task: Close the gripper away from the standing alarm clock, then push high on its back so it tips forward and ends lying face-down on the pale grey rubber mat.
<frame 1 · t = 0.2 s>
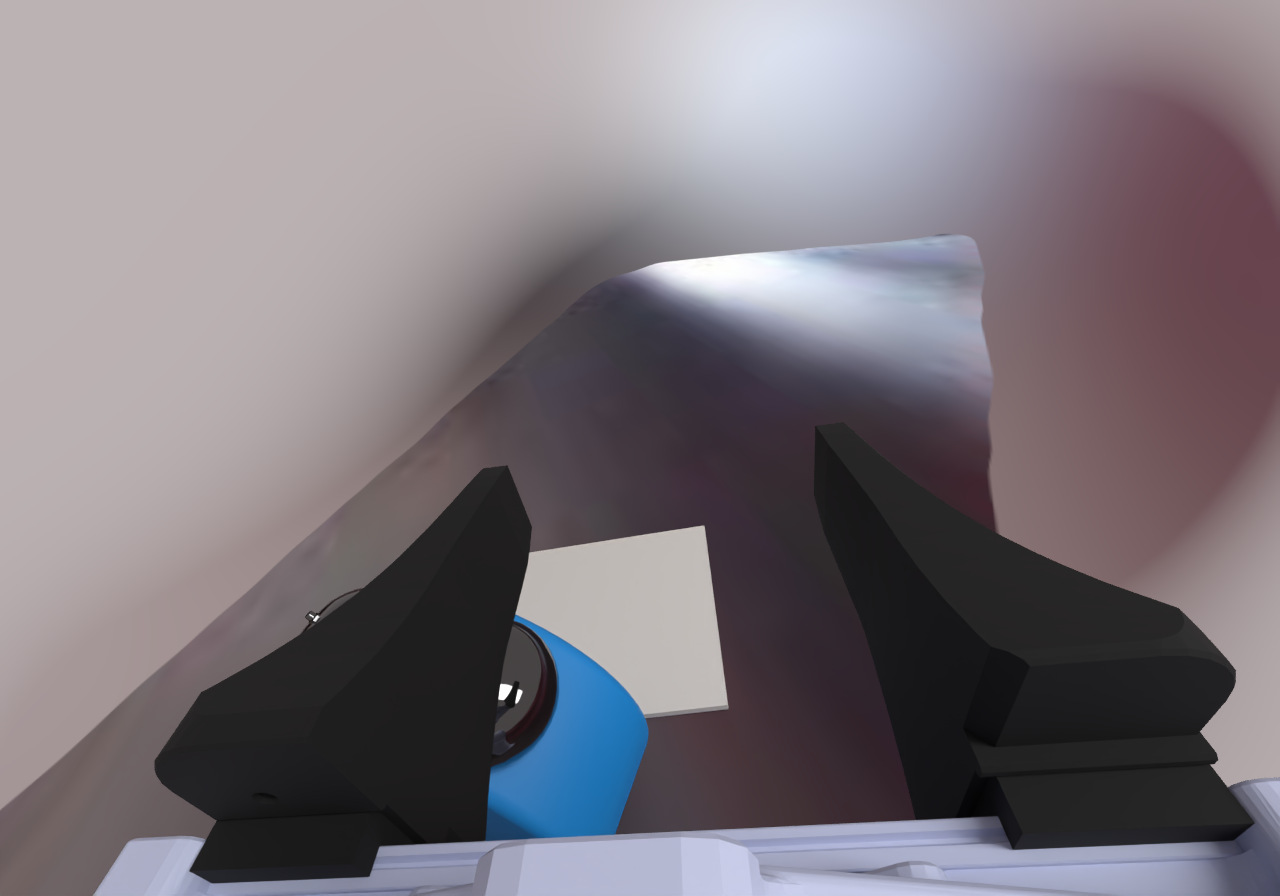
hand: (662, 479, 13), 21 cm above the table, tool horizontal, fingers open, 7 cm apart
alarm clock: (542, 796, 28), on the table, touching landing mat
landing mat: (566, 625, 37), on the table
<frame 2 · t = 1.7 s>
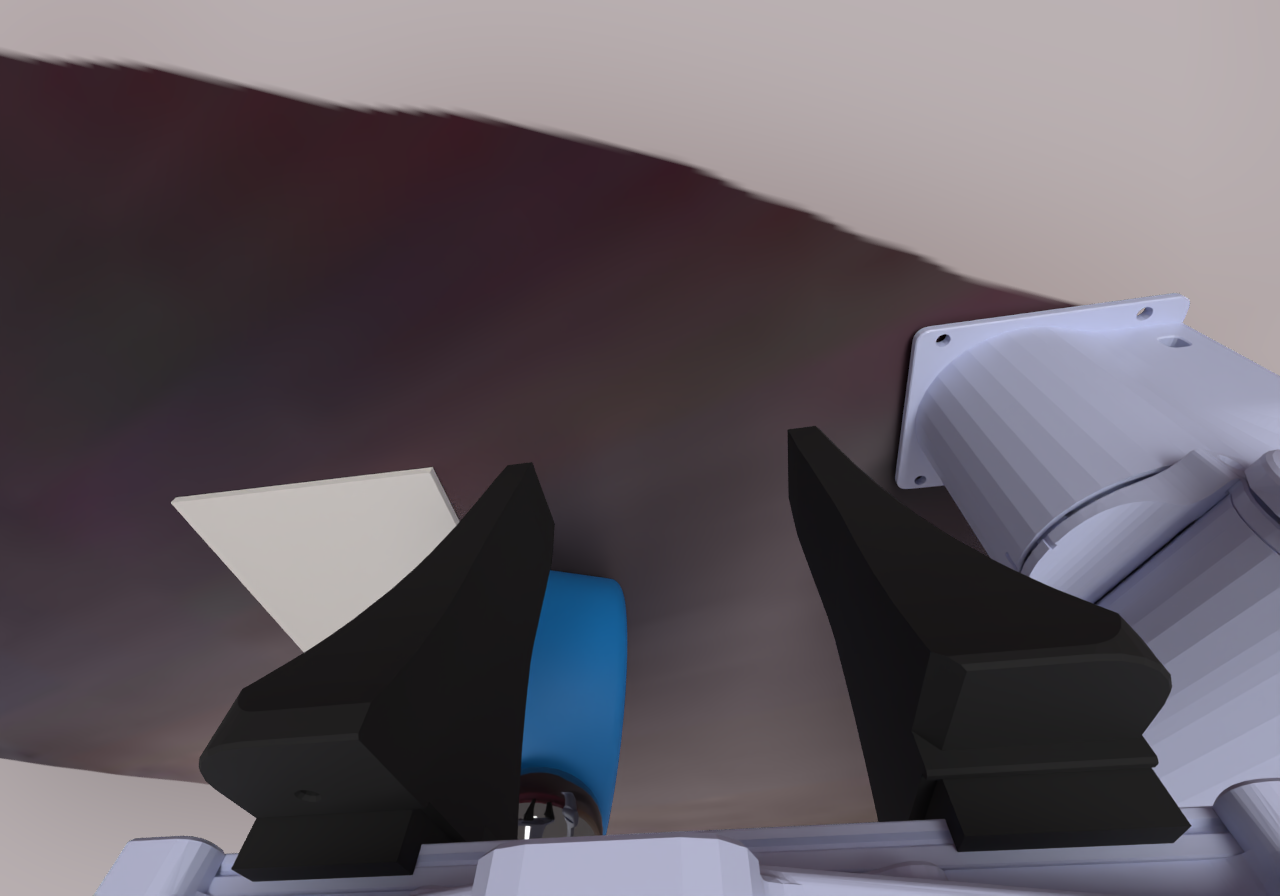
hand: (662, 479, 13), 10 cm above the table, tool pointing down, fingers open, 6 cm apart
alarm clock: (556, 595, 32), on the table, touching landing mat
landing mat: (387, 609, 33), on the table
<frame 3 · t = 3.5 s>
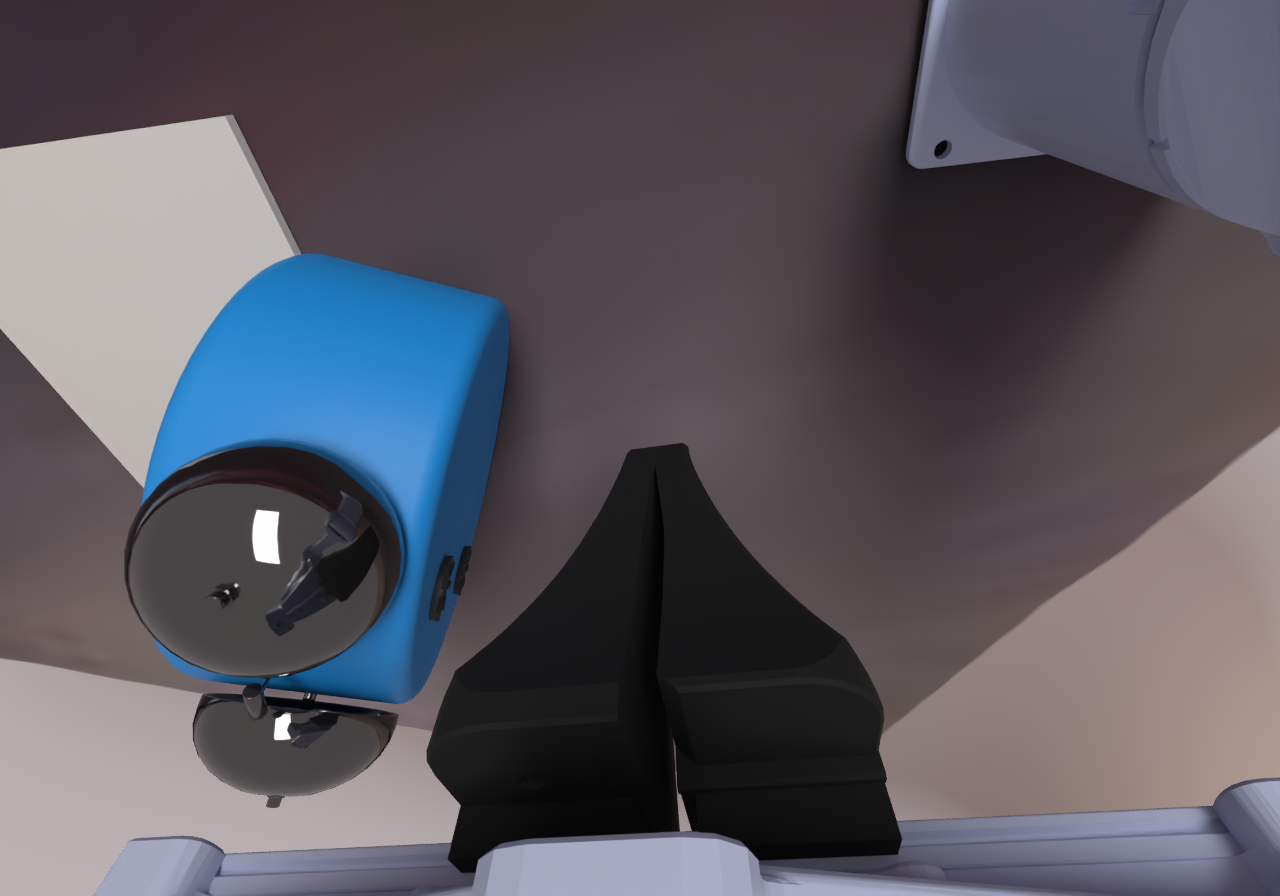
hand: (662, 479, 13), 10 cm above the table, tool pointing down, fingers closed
alarm clock: (439, 372, 24), on the table, touching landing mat
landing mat: (217, 391, 25), on the table
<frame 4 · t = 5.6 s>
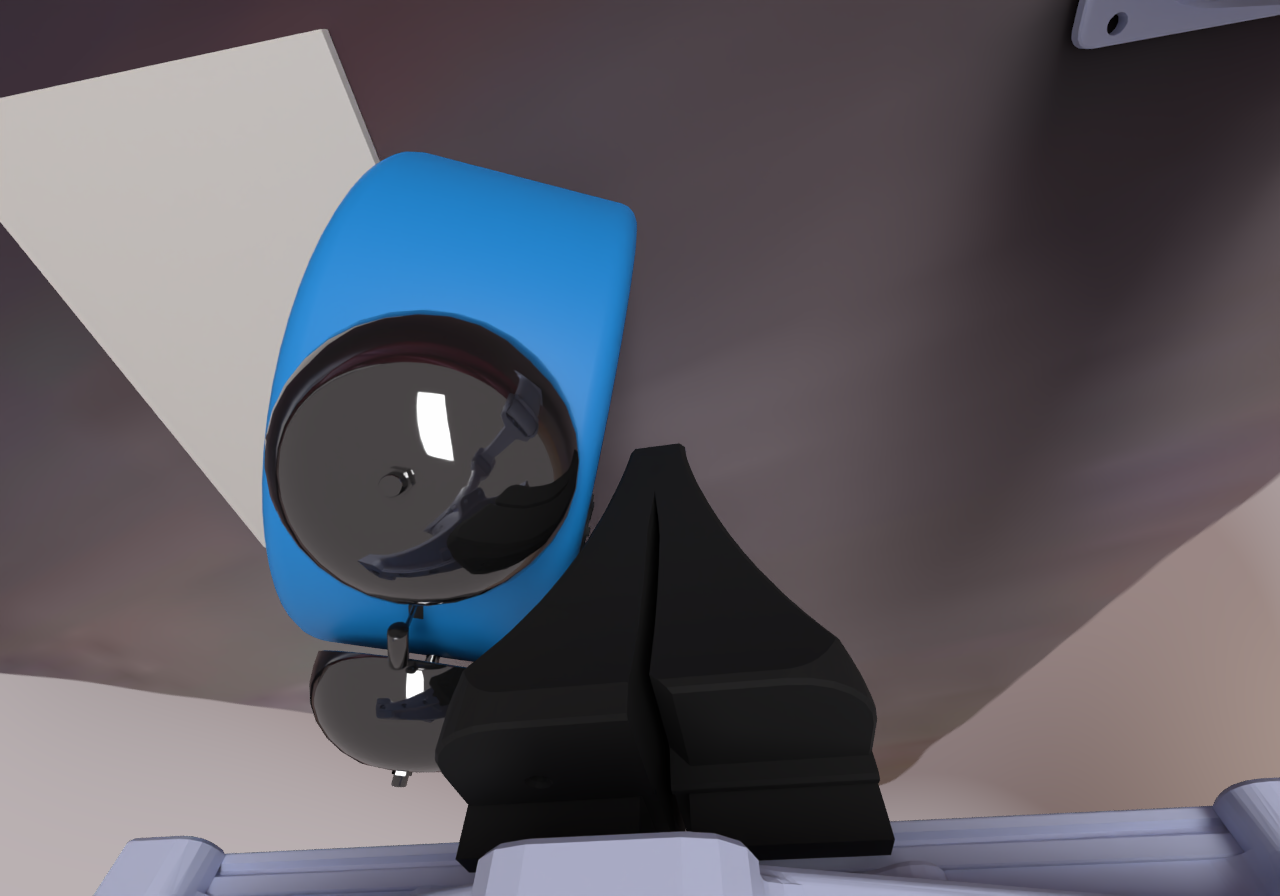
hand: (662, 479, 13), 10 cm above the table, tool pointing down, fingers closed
alarm clock: (532, 325, 22), on the table, touching gripper, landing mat
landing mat: (289, 359, 23), on the table
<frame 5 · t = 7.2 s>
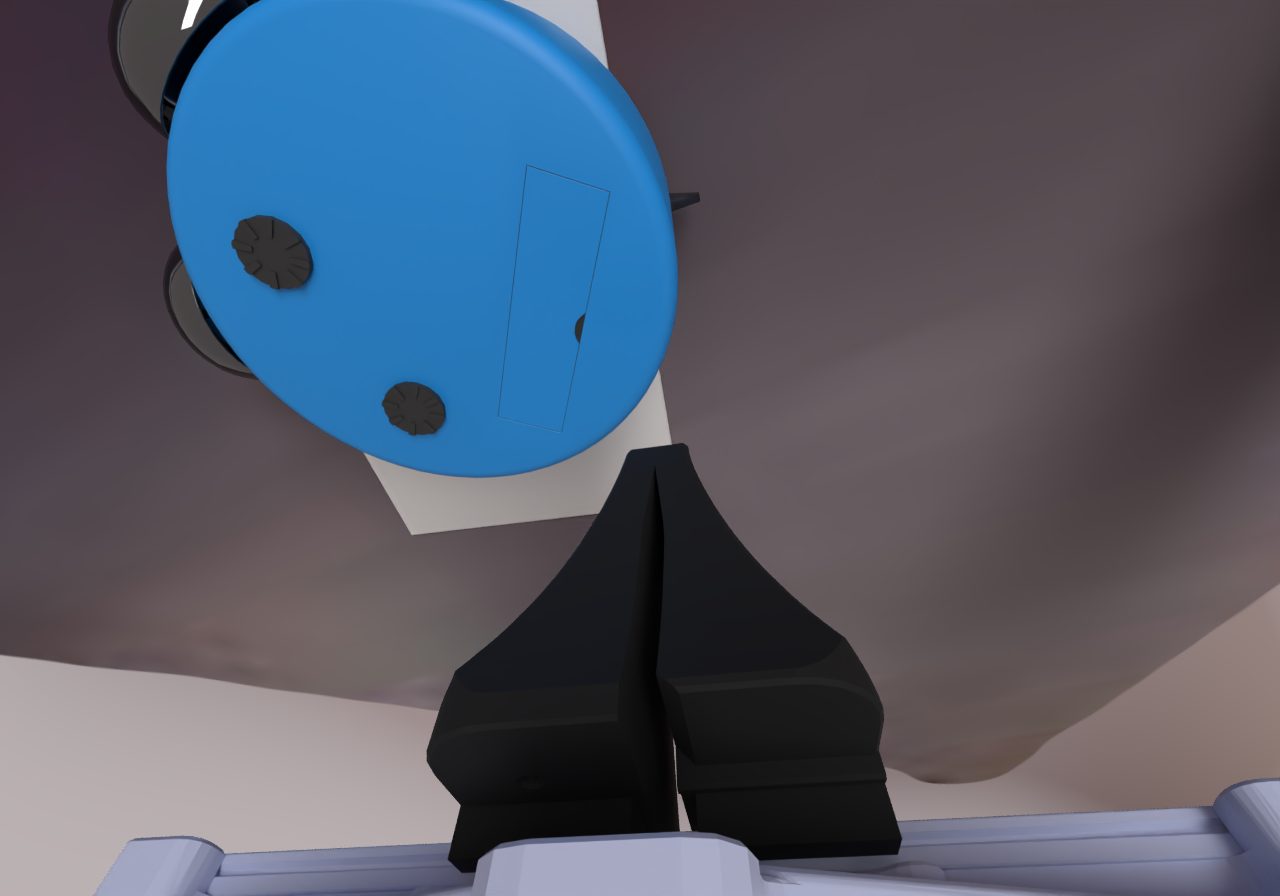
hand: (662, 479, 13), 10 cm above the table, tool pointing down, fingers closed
alarm clock: (674, 322, 18), point 3 cm above the table, touching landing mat
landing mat: (476, 334, 22), on the table
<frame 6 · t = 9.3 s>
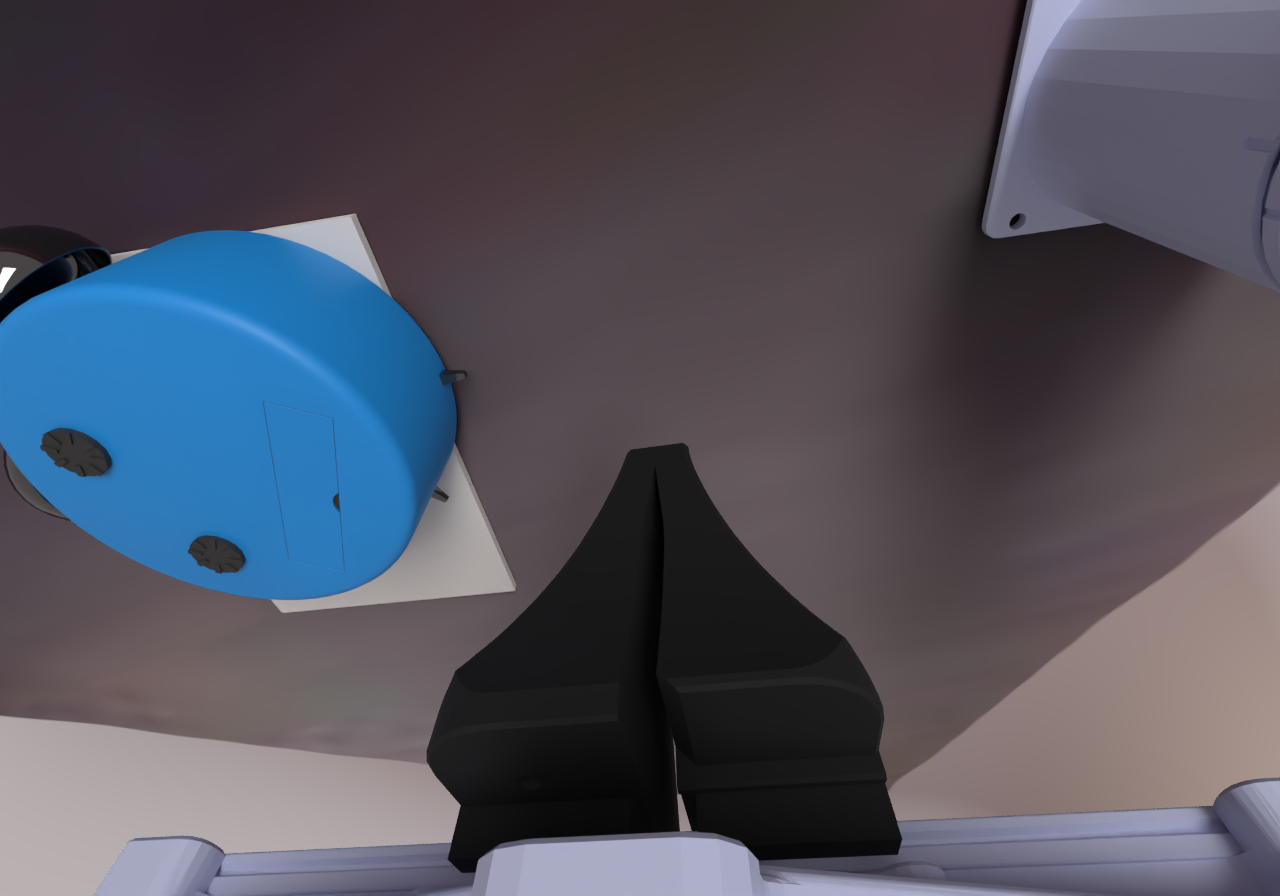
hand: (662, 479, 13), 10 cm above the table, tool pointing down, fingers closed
alarm clock: (447, 475, 22), point 3 cm above the table, touching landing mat
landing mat: (311, 460, 26), on the table
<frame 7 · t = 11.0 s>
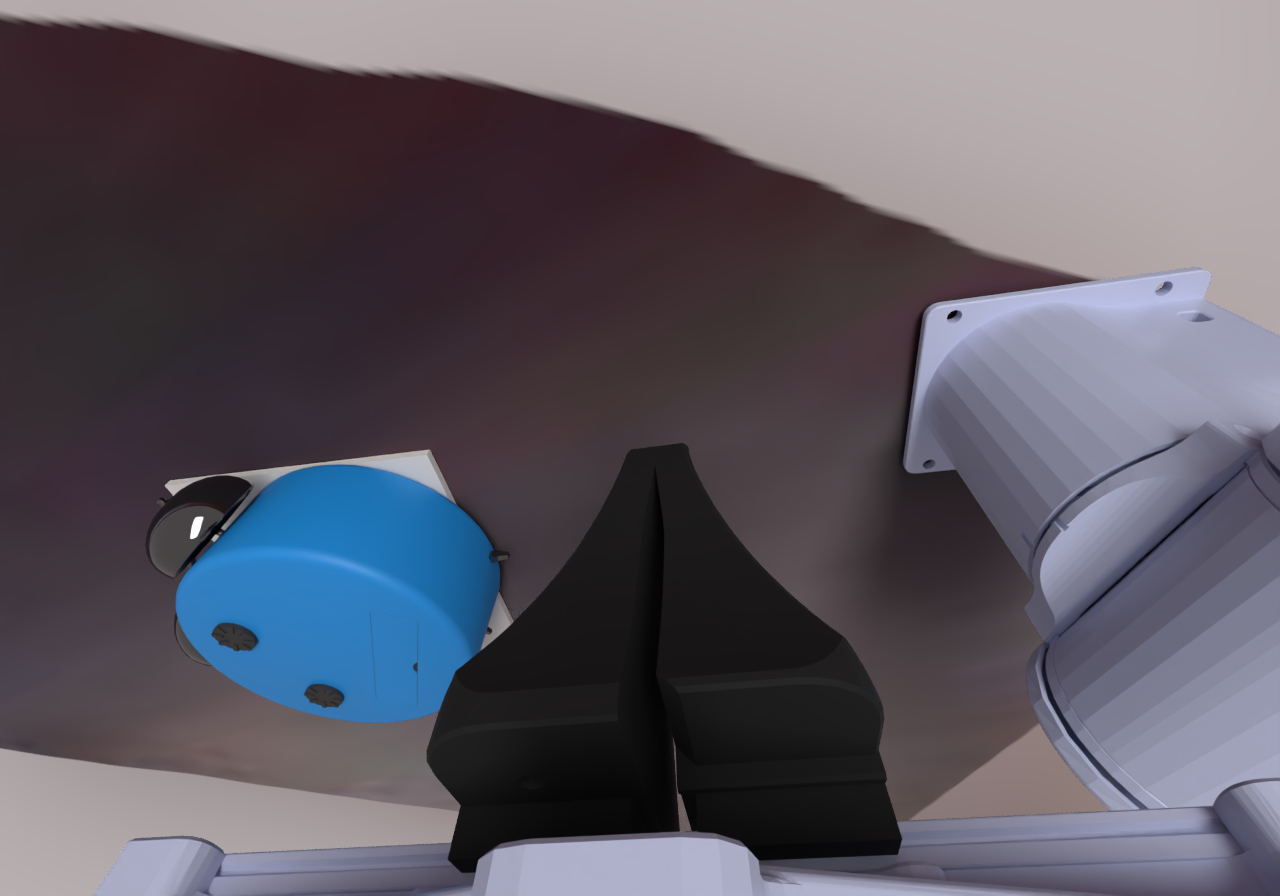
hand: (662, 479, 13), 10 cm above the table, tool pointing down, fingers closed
alarm clock: (493, 630, 28), point 3 cm above the table, touching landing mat
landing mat: (384, 597, 33), on the table
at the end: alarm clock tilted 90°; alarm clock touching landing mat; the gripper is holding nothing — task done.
